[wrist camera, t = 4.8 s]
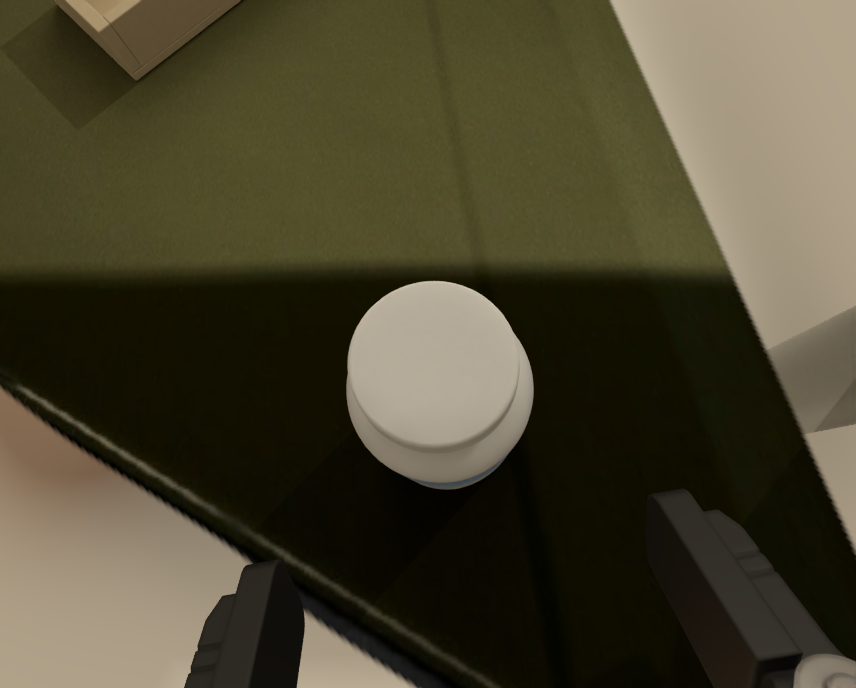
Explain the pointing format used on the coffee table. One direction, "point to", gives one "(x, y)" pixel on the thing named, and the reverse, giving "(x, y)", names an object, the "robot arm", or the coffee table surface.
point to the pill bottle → (438, 384)
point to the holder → (143, 27)
